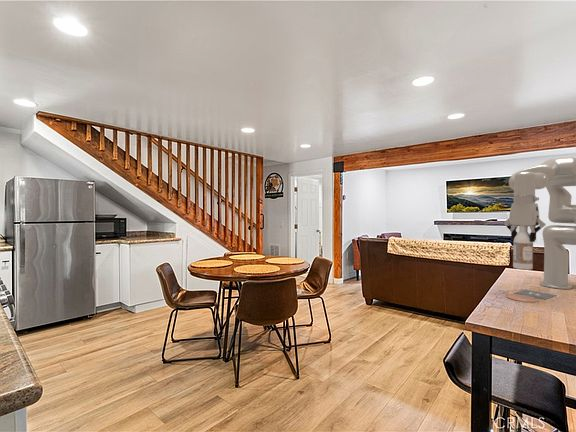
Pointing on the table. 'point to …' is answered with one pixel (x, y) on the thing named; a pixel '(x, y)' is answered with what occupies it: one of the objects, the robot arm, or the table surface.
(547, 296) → the tile
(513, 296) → the flat salmon disc
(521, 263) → the bath foam
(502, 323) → the table surface
